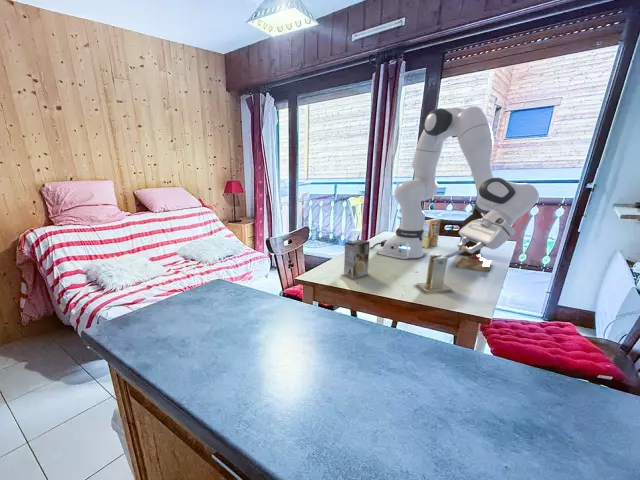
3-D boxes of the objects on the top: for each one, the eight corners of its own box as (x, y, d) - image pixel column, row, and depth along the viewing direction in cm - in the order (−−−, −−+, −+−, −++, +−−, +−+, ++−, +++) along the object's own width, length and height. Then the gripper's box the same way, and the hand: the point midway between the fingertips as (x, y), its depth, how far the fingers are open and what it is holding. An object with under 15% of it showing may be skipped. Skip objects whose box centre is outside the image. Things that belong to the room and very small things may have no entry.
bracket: (440, 284, 137) (446, 252, 131) (451, 291, 129) (457, 258, 124) (416, 285, 137) (421, 254, 132) (425, 293, 130) (430, 260, 124)
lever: (464, 249, 130) (463, 243, 129) (472, 252, 124) (471, 247, 124) (431, 262, 132) (430, 257, 131) (438, 267, 127) (437, 261, 126)
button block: (457, 267, 154) (459, 259, 153) (461, 261, 161) (462, 253, 160) (487, 271, 147) (489, 263, 146) (490, 265, 154) (492, 257, 153)
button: (470, 259, 153) (471, 255, 152) (471, 257, 155) (472, 253, 155) (479, 260, 151) (480, 256, 150) (480, 258, 153) (481, 255, 153)
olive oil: (468, 258, 166) (478, 208, 156) (452, 252, 175) (460, 205, 166) (485, 255, 168) (496, 206, 158) (469, 250, 177) (478, 203, 168)
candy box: (430, 244, 193) (434, 218, 187) (437, 245, 189) (441, 219, 183) (420, 246, 189) (424, 220, 183) (426, 248, 186) (430, 221, 180)
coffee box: (357, 271, 157) (360, 239, 151) (367, 275, 152) (370, 241, 145) (343, 275, 153) (344, 242, 147) (352, 279, 148) (354, 245, 142)
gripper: (473, 212, 132) (445, 238, 136) (509, 222, 113) (475, 251, 117) (482, 223, 133) (454, 247, 137) (519, 234, 114) (485, 262, 118)
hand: (464, 249), depth 127 cm, fingers closed on lever, 5 cm apart
